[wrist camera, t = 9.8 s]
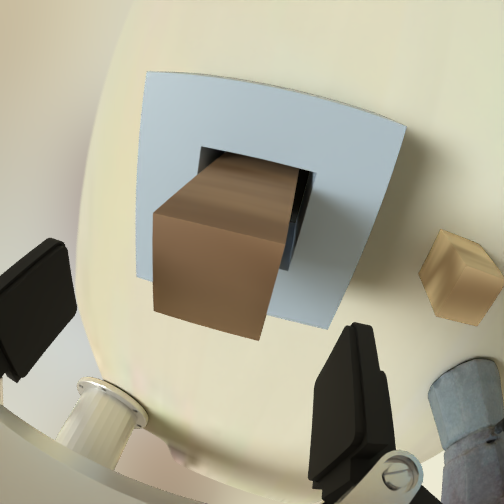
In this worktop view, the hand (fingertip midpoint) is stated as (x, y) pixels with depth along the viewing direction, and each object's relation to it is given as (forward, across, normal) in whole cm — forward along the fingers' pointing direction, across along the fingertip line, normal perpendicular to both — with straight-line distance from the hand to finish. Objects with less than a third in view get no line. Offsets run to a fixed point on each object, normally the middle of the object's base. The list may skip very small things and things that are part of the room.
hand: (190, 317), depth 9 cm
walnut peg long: (+13, 0, -1) cm, 13 cm away
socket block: (+13, 0, -1) cm, 13 cm away
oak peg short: (+13, -15, +1) cm, 20 cm away
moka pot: (+13, -26, +14) cm, 33 cm away
